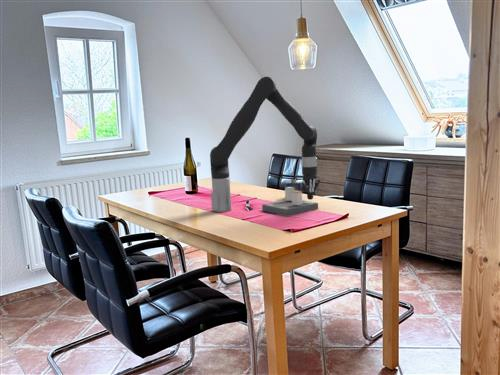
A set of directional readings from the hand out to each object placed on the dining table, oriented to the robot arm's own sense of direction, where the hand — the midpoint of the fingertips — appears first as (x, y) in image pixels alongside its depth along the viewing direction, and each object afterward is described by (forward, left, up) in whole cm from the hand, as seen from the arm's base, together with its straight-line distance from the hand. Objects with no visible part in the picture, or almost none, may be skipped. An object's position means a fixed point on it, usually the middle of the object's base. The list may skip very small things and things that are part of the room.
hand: (310, 199), depth 246 cm
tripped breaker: (-9, 0, -1) cm, 9 cm away
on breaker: (-4, +11, -1) cm, 12 cm away
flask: (+13, +28, -5) cm, 31 cm away
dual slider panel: (-9, +6, -5) cm, 12 cm away
